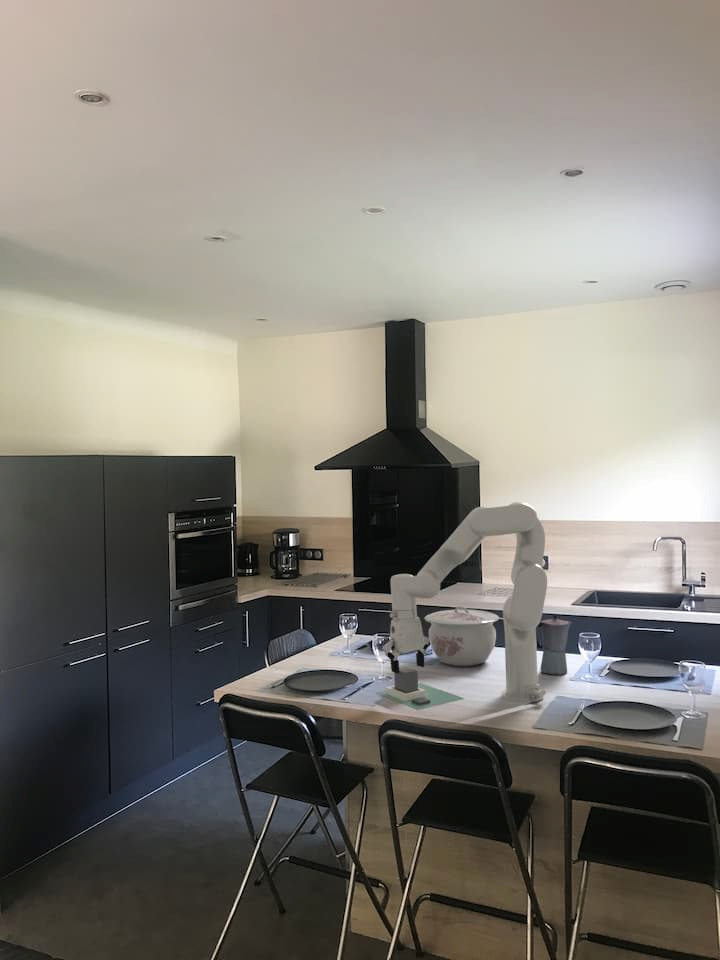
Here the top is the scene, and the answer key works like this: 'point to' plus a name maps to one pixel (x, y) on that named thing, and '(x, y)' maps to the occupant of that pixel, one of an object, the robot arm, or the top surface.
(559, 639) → the moka pot
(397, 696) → the board
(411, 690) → the plug
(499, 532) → the robot arm
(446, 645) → the chamber pot
